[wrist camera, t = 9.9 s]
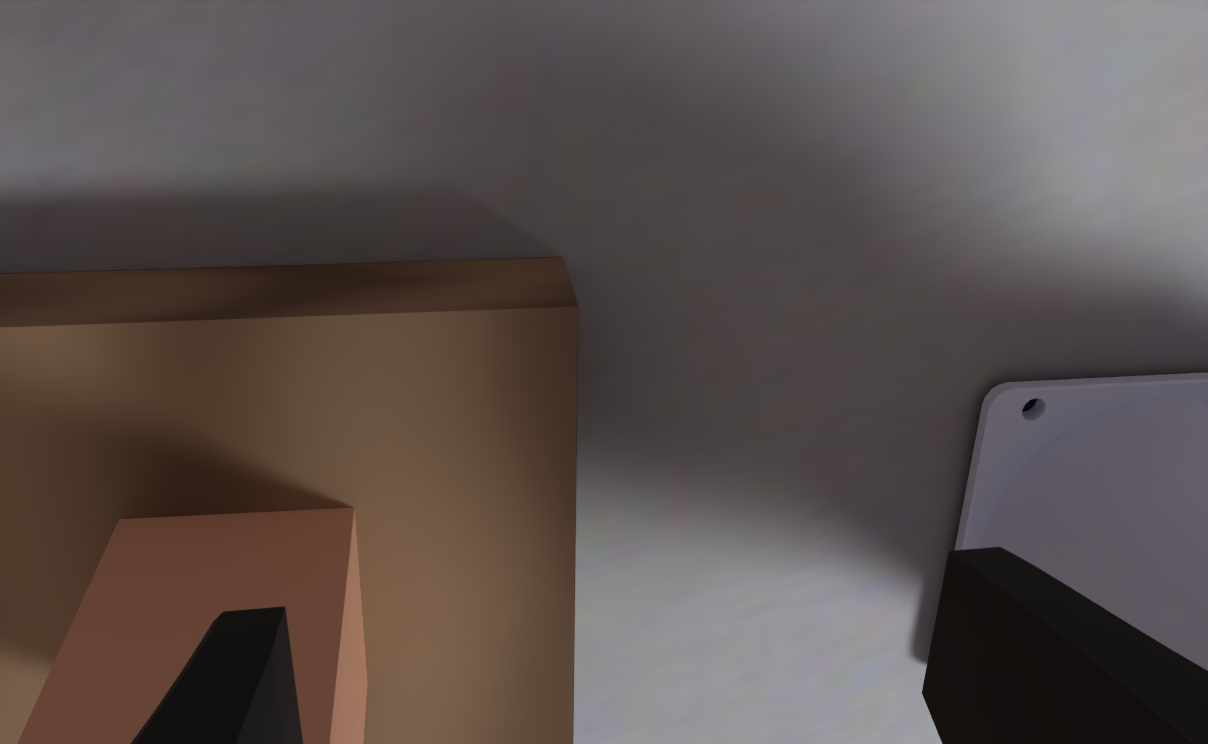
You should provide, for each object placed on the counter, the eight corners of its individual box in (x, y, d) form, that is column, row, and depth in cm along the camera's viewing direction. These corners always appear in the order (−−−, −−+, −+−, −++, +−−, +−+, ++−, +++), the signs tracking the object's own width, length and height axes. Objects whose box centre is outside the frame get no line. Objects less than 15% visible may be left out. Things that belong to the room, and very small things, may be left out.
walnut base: (561, 257, 21) (578, 306, 19) (559, 737, 26) (572, 820, 24) (-123, 277, 19) (-195, 334, 17) (20, 786, 24) (-21, 882, 22)
